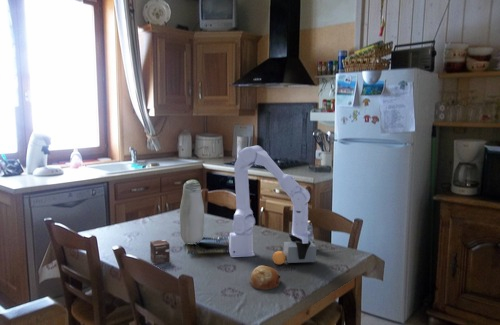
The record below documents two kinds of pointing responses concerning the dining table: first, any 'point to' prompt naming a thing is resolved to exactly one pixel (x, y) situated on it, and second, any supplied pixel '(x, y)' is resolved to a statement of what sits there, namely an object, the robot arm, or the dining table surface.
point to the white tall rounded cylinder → (192, 213)
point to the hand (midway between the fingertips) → (299, 255)
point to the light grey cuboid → (292, 253)
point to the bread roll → (264, 278)
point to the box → (159, 251)
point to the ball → (279, 257)
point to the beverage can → (310, 229)
